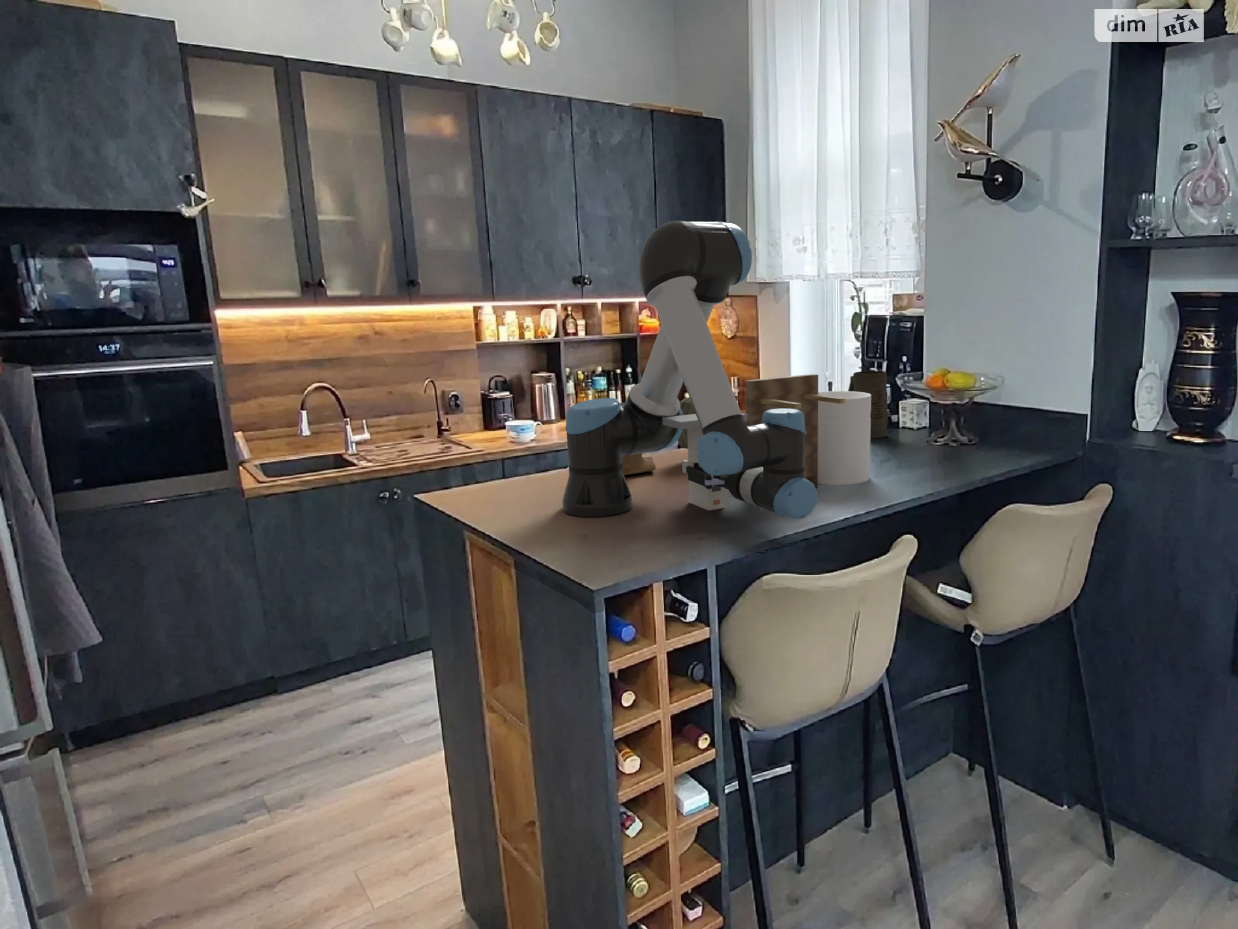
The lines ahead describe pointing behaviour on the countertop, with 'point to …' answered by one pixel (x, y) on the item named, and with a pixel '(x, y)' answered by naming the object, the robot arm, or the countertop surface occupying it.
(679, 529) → the countertop surface
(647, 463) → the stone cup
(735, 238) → the robot arm
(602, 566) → the countertop surface
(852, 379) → the beer stein
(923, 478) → the countertop surface
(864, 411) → the canister
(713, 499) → the power strip
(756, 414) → the bracket
